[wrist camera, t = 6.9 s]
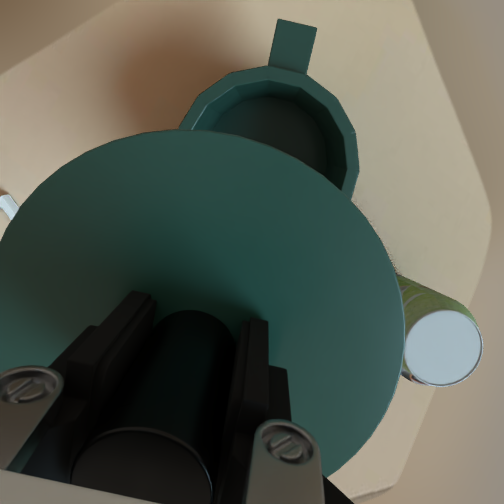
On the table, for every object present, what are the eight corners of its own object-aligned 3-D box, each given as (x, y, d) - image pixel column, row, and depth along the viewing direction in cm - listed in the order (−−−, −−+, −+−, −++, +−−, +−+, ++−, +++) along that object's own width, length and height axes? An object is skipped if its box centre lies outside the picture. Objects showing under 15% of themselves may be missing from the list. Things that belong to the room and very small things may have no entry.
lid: (453, 187, 11) (657, 233, 5) (331, 517, 15) (375, 769, 9) (21, 84, 11) (-264, 13, 5) (-2, 446, 14) (-190, 656, 8)
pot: (362, 69, 31) (397, 42, 22) (307, 271, 35) (319, 309, 27) (217, 35, 30) (199, -5, 22) (180, 242, 35) (154, 272, 27)
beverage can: (340, 324, 36) (374, 408, 25) (357, 249, 34) (403, 302, 23) (407, 335, 36) (472, 423, 25) (428, 260, 34) (509, 318, 23)
